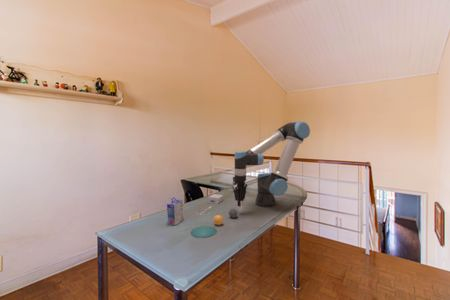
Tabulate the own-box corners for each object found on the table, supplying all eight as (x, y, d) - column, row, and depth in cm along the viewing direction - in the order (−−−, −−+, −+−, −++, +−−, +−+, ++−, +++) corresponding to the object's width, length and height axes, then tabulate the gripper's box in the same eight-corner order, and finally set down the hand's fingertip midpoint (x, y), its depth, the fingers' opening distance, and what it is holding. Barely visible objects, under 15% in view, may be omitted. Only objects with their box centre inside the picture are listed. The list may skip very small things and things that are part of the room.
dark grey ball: (236, 215, 141) (236, 207, 140) (238, 218, 135) (238, 210, 135) (228, 216, 140) (228, 207, 140) (229, 219, 135) (229, 210, 134)
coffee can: (233, 194, 193) (233, 178, 192) (232, 191, 203) (232, 176, 202) (245, 194, 194) (245, 178, 193) (243, 191, 204) (243, 176, 203)
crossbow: (208, 218, 141) (207, 215, 141) (191, 215, 146) (191, 212, 146) (219, 209, 156) (218, 206, 155) (203, 206, 161) (203, 204, 161)
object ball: (222, 222, 130) (222, 213, 130) (223, 226, 125) (223, 216, 124) (213, 223, 130) (213, 213, 129) (213, 226, 124) (213, 217, 124)
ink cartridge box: (176, 218, 138) (175, 195, 137) (184, 219, 136) (183, 196, 135) (167, 224, 129) (166, 200, 128) (175, 225, 127) (174, 200, 126)
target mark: (216, 225, 125) (216, 225, 125) (217, 236, 112) (217, 236, 111) (191, 227, 124) (191, 226, 124) (189, 238, 110) (189, 238, 110)
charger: (226, 198, 180) (218, 204, 167) (216, 197, 184) (207, 202, 170) (226, 193, 180) (218, 198, 166) (216, 192, 184) (207, 196, 170)
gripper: (241, 173, 150) (241, 206, 151) (229, 175, 140) (229, 211, 141) (250, 174, 145) (250, 209, 147) (238, 176, 135) (238, 214, 137)
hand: (240, 210), depth 144 cm, fingers closed
